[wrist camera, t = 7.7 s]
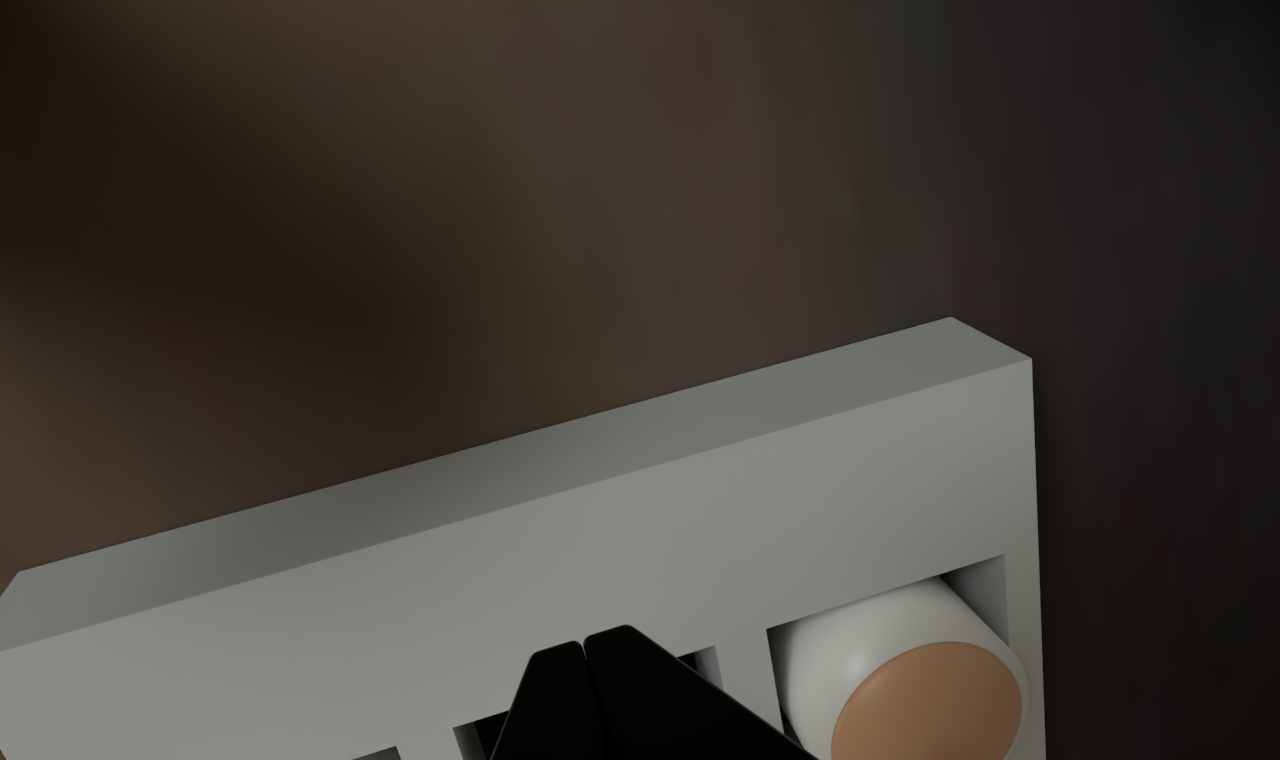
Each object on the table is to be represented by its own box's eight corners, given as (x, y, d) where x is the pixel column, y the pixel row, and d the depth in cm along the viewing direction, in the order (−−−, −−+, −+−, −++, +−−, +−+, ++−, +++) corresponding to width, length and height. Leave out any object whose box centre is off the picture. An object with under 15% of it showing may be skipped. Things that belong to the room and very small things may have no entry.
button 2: (929, 512, 23) (1031, 604, 19) (943, 671, 24) (1038, 784, 21) (740, 570, 22) (807, 677, 18) (768, 729, 24) (835, 856, 20)
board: (951, 316, 21) (1032, 358, 19) (983, 781, 27) (1049, 867, 24) (18, 571, 18) (-49, 665, 16) (262, 1035, 24) (243, 1165, 21)
